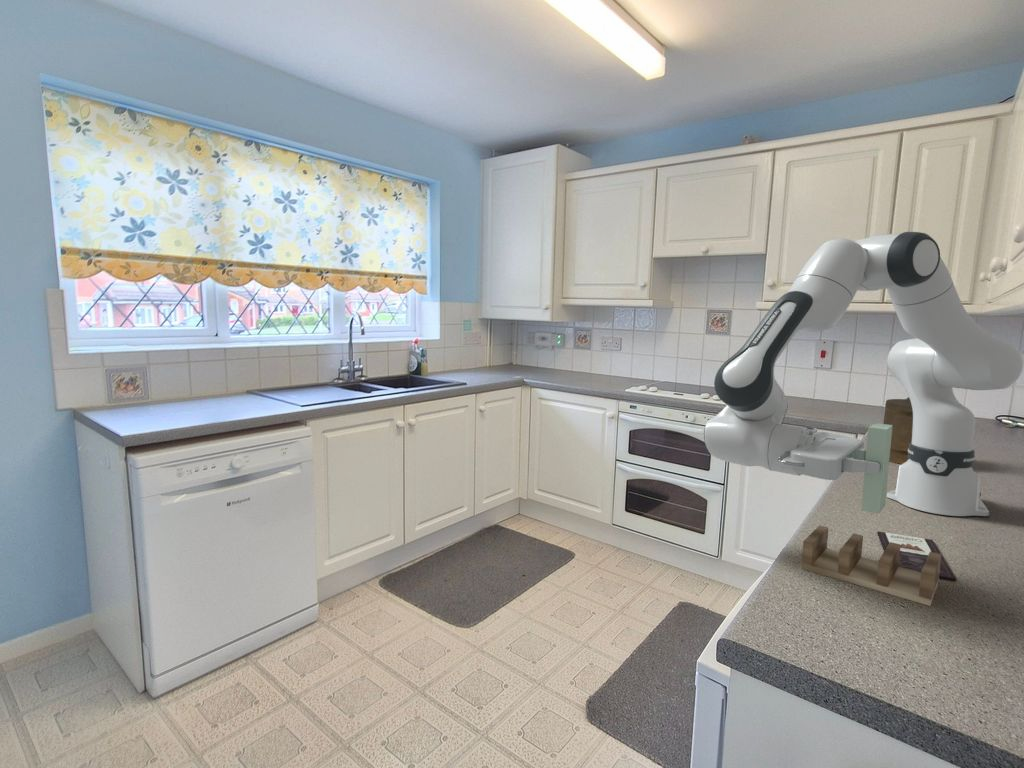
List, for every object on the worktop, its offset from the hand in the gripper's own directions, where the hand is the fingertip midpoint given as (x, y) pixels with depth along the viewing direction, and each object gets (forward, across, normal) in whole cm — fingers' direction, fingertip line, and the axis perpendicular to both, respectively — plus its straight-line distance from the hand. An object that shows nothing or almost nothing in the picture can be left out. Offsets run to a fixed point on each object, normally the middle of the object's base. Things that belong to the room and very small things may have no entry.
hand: (883, 464), depth 89 cm
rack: (-1, 0, +20) cm, 20 cm away
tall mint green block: (-1, 0, +8) cm, 8 cm away
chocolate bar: (+3, +15, +20) cm, 26 cm away
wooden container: (-8, +97, +20) cm, 99 cm away
